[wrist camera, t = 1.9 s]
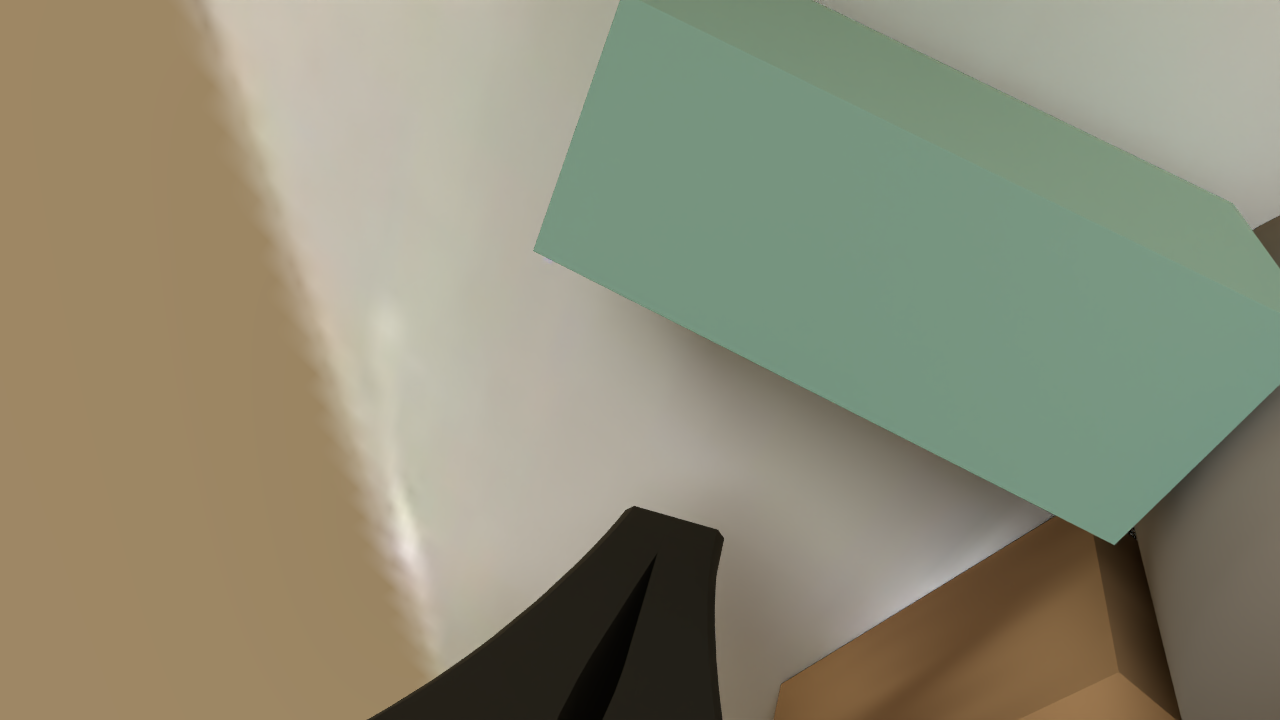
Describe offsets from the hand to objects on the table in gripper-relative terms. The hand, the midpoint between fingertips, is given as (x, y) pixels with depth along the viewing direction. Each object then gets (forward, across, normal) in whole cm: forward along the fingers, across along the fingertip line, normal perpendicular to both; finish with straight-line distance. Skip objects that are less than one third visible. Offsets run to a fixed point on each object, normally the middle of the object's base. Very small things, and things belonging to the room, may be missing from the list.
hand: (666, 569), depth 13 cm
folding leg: (+3, -2, -5) cm, 6 cm away
